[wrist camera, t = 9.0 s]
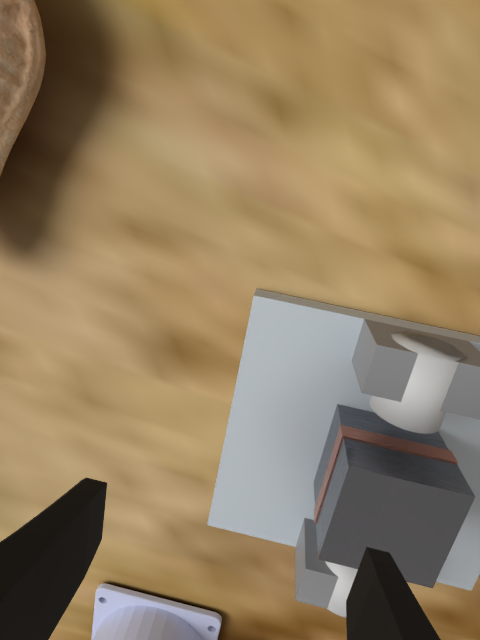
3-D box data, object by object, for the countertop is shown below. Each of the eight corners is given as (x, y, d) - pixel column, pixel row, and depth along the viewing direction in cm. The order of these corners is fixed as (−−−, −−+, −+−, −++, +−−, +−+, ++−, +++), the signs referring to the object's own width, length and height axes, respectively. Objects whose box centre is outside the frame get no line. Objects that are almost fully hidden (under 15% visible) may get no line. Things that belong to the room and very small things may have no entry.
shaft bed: (462, 570, 23) (499, 657, 19) (211, 508, 24) (193, 578, 19) (567, 354, 18) (646, 404, 14) (256, 288, 19) (245, 318, 15)
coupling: (405, 505, 20) (433, 589, 16) (312, 482, 21) (316, 559, 17) (437, 425, 19) (477, 495, 15) (336, 402, 19) (347, 465, 15)
